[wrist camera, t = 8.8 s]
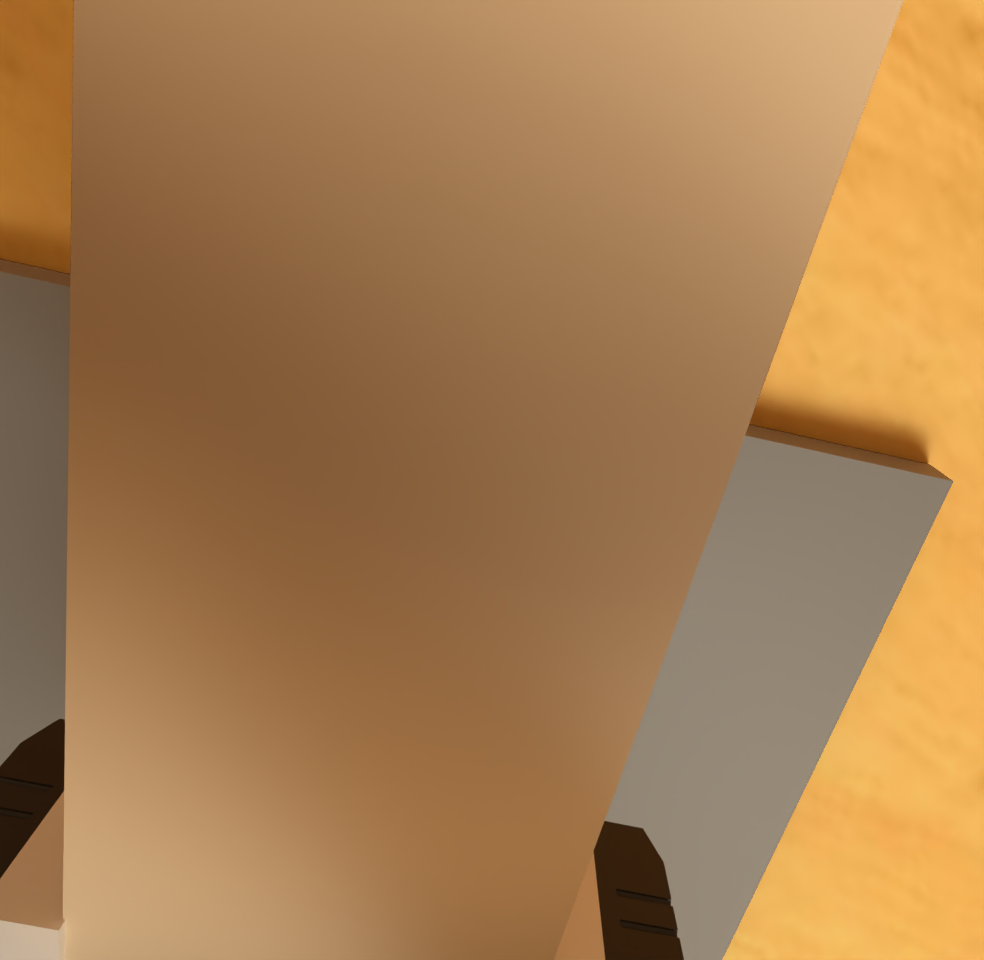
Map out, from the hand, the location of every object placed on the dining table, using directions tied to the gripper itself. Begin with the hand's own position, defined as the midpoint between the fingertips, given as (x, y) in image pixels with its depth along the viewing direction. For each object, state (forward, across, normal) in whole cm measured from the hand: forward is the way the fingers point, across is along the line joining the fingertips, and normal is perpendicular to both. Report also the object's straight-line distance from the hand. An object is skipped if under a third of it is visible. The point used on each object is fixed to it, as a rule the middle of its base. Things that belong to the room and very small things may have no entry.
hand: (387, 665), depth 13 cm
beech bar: (-1, 0, 0) cm, 1 cm away
